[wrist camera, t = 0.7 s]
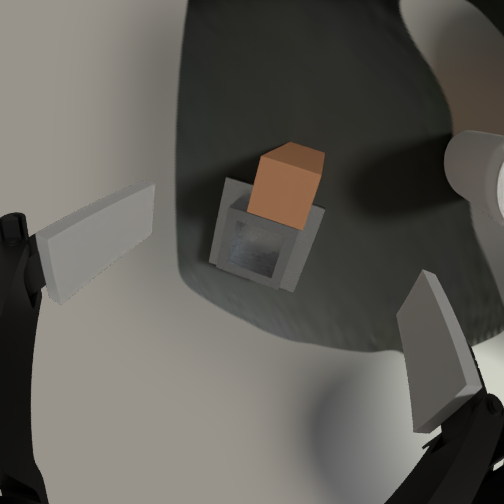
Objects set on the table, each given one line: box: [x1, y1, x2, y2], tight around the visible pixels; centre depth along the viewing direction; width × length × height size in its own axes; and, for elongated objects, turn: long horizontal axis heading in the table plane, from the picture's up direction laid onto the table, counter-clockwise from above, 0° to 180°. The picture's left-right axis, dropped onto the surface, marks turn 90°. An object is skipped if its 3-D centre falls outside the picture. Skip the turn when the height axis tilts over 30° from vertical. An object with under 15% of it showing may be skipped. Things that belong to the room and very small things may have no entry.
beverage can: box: [444, 130, 504, 227], centre depth 19 cm, size 8×8×12 cm
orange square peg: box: [247, 142, 325, 231], centre depth 24 cm, size 4×4×14 cm
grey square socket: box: [209, 176, 325, 292], centre depth 33 cm, size 12×12×4 cm
